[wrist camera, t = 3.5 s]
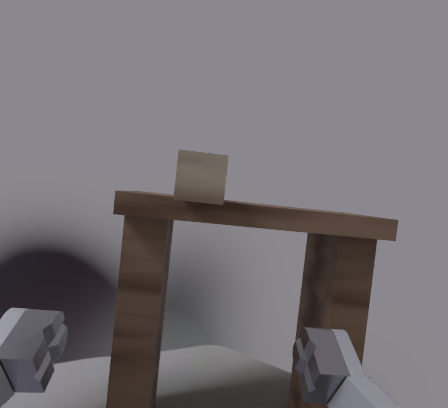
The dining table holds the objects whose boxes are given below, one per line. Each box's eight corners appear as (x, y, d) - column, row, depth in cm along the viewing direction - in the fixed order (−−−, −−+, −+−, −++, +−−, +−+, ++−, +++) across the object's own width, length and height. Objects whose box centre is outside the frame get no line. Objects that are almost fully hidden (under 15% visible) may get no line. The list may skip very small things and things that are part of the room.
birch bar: (223, 204, 18) (228, 155, 17) (173, 199, 17) (178, 149, 17) (208, 198, 37) (210, 175, 37) (185, 195, 37) (187, 172, 37)
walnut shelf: (365, 485, 28) (398, 220, 27) (87, 485, 25) (115, 190, 25) (320, 408, 38) (343, 212, 37) (117, 402, 35) (138, 191, 35)
